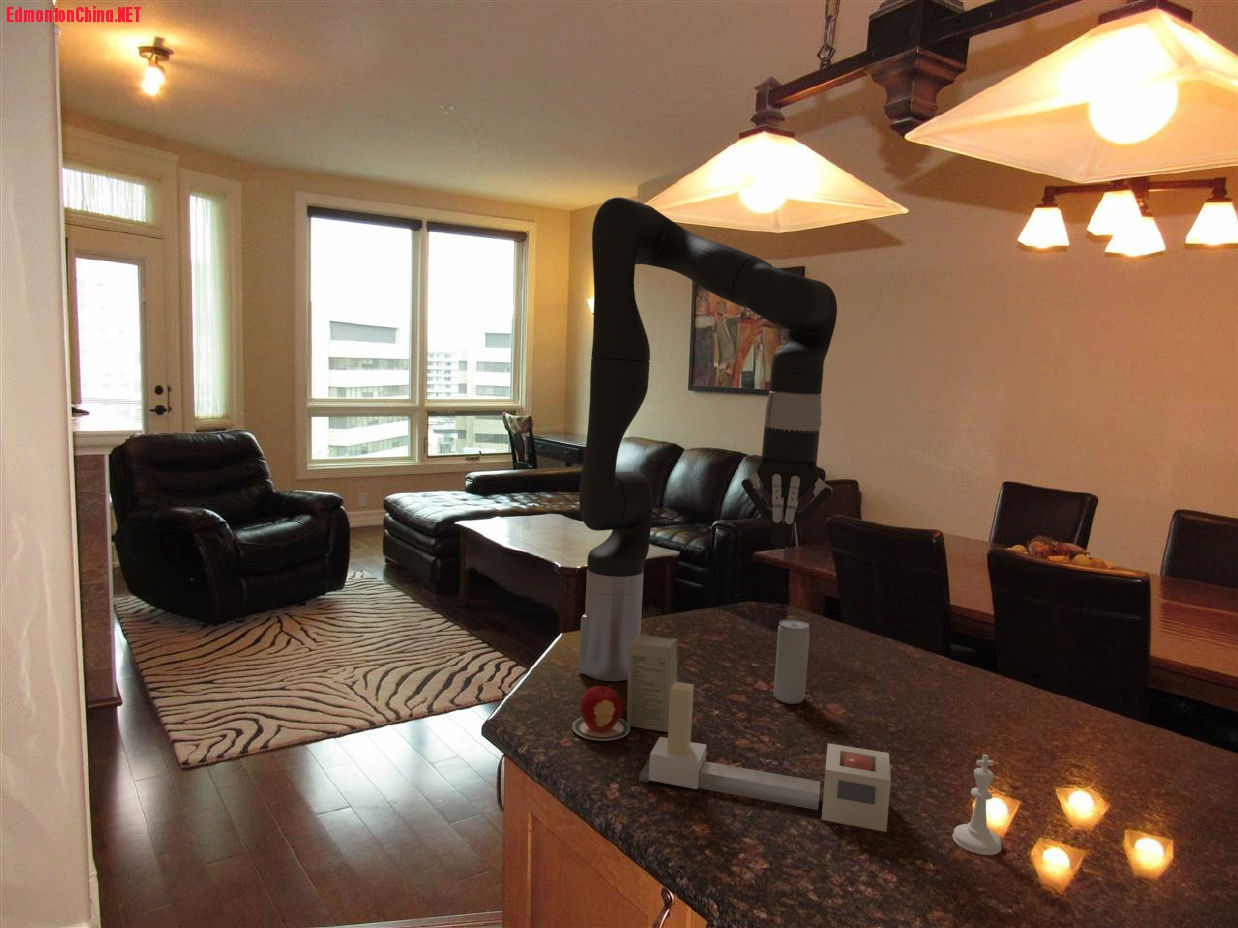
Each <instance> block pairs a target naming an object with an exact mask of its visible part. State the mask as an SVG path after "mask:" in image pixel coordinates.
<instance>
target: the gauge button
mask: <svg viewBox="0 0 1238 928" xmlns="http://www.w3.org/2000/svg"><path fill="white" fill-rule="evenodd" d="M871 763H872V762H871V760H870V759H869V758H868V757H866V756H864V755H860V754H847V755H846V756H845V758H844V767H850V768H856V769H861V770H867V771H871Z"/></svg>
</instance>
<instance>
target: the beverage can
mask: <svg viewBox="0 0 1238 928" xmlns="http://www.w3.org/2000/svg"><path fill="white" fill-rule="evenodd" d="M778 624H779V625H778V628H777V639H776V656H775V670H774V680H773V682H774V683H773V684H774V685H773V686H774V687H773V695H774V698H775V699H776V700H777V701H779V702H780V703H783V704H789V705H796V704H800V703H802V702H803V700H804V699H805V698H806V688H807V687H806V684H807V672H808V663H809V662H808V661H809V660H808V659H809V648H810V647H809V646H810V635H811V634H810V633H811V631H810V625H809V623H808V622H805V621H802V620H798V619H783V620H779V623H778Z"/></svg>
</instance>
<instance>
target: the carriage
mask: <svg viewBox="0 0 1238 928" xmlns="http://www.w3.org/2000/svg"><path fill="white" fill-rule="evenodd" d="M694 688H695V685H694V684H693V683H686V682H680V681H677V682H674V684H673V685H672V687H671V689H670V707H669V726H668V732H667V737H663V736H659V737H658V739H657V741H656V742H655V745H653V748H652V750H651V751H650V754H649V757H650V763H649V780H650V781H652V782H655V783H656V782H657V783H660V784H661V783H662V784H666V785H673V786H679V787H684V788H689V789H694V790H698V789H699V788H698V786H699V772H700V769H701V767H702V765H703V762H704V761H706V762H707V744H703V743H698V742H694V741H692V725H693V705H694V690H695V689H694Z"/></svg>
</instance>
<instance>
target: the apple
mask: <svg viewBox="0 0 1238 928" xmlns="http://www.w3.org/2000/svg"><path fill="white" fill-rule="evenodd" d="M611 687H613V685H611V684H610V685H608V686H600V685H598V686H592V687H591V688H589V689H587V690H586V691H585V692H584V694H583V697H582V699H581V702H580V714H581V717H580V718H578V719H576V720H575V721H573V723H572V726H571V727H572V730H573V732H574V733H575V734H576V735H578V736H579V737H581V738H584V739H586V740H587V739H588V740H592V741H600V742H601V741H603V742H604V741H605V742H606V741H615V740H618V739H621V738H624V737H626V736H627V735H629V733H630V731H631V726H630V725H629V724H628V723H627V720H624V719H623V718H621V715H622V712H623V703H622V699H621V698H620V695H619V693H617V691H615V690H614V689H613V688H611Z"/></svg>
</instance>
